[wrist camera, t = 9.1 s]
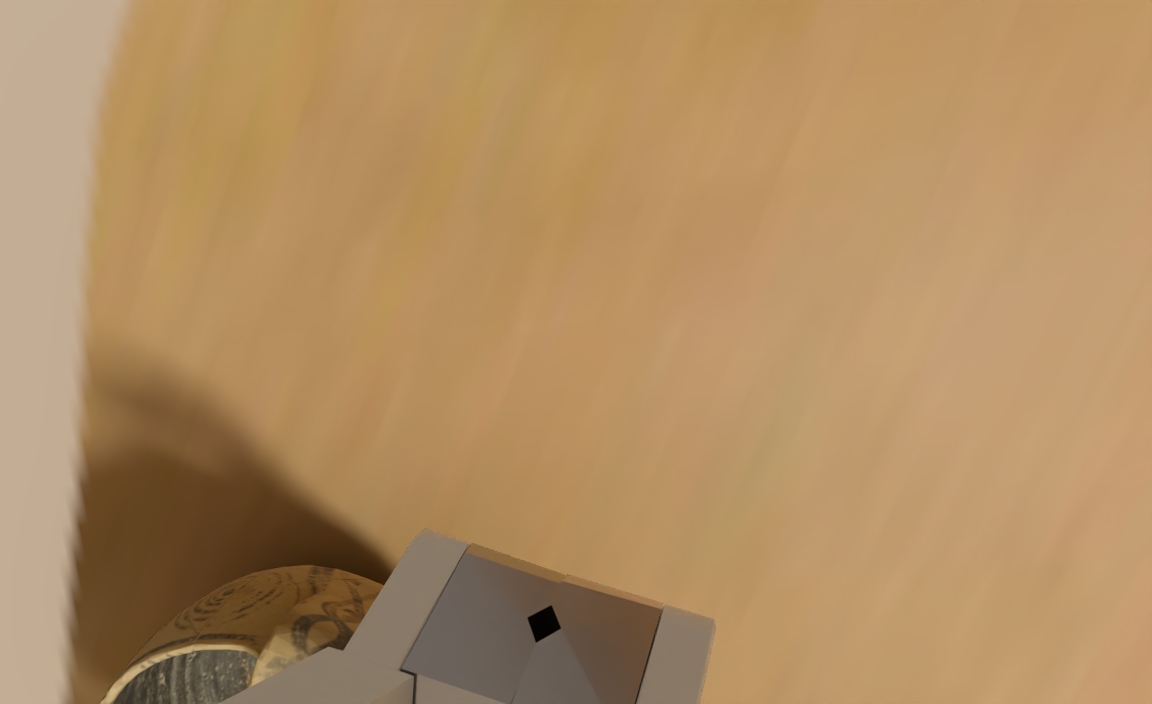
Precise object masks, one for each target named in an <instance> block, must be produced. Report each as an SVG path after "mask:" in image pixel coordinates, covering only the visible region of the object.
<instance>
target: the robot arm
mask: <svg viewBox="0 0 1152 704" xmlns="http://www.w3.org/2000/svg"><path fill="white" fill-rule="evenodd" d="M662 607H663V603H661V602H658V601H654V600H651V599H648V598H644V597H641V596H638V595H634V594H631V593H628V592H625V591H621V590H618V589H615V588H611V587H608V586H605V585H601V584H598V583H595V582H591V581H588V580H585V579H582V578H578V577H575V576H572V575H568V574H567V575H564V574H561V573H558V572H555V571H552V570H549V569H546V568H544V567H541V566H538V565H535V564H532V563H529V562H526V561H523V560H520V559H517V558H514V557H511V556H509V555H506V554H503V553H500V552H497V551H494V550H491V549H488V548H485V547H482V546H479V545H476V544H474V543H473V544H471V543H468V542H466V541H463V540H460V539H457V538H454V537H451V536H448V535H445V534H442V533H439V532H436V531H433V530H430V529H427V528H425V529H424V530H423V531H422V532H421V533H420V534H418V535H417V536H416V537H415V538H414V539H413V540H412V542H411V544H410V545H409V547H408V548H407V550H406V552H405V553H404V555H403V556H402V558H401V559H400V561H399V563H398V564H397V566H396V567H395V569H394V571H393V572H392V574H391V575H390V577H389V579H388V580H387V582H386V583H385V585H384V587H383V588H382V590H381V591H380V593H379V594H378V596H377V598H376V599H375V601H374V602H373V604H372V606H371V607H370V609H369V610H368V612H367V614H366V615H365V617H364V618H363V620H362V622H361V623H360V625H359V626H358V628H357V630H356V631H355V633H354V634H353V636H352V637H351V639H350V641H349V642H348V644H347V645H346V647H345V649H344V650H343V651H341V650H338V649H335V648H332V647H327V648H325V649H323V650H321V651H319V652H317V653H315V654H313V655H311V656H309V657H308V658H306V659H304V660H302V661H300V662H298V663H296V664H294V665H292V666H290V667H288V668H286V669H284V670H282V671H280V672H278V673H277V674H275V675H273V676H271V677H269V678H267V679H265V680H263V681H261V682H259V683H257V684H255V685H253V686H251V687H249V688H247V689H246V690H244V691H242V692H240V693H238V694H236V695H234V696H232V697H230V698H228V699H226V700H224V701H222V702H220V703H218V704H700V701H701V696H702V691H703V687H704V682H705V677H706V672H707V668H708V663H709V658H710V654H711V649H712V644H713V639H714V635H715V630H716V627H715V620H714V619H711V618H708V617H705V616H702V615H698V614H695V613H692V612H689V611H685V610H682V609H679V608H676V607H672V606H669V605H666V604H665V605H664V607H663V609H662ZM661 611H662V613H661ZM660 615H661V616H660ZM659 619H660V620H659ZM658 623H659V624H658ZM657 626H658V627H657ZM656 630H657V631H656ZM655 634H656V635H655ZM653 641H654V642H653Z"/></svg>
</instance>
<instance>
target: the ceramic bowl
mask: <svg viewBox="0 0 1152 704" xmlns="http://www.w3.org/2000/svg"><path fill="white" fill-rule="evenodd" d="M383 587H384V585H382V584H380V583H377V582H375V581H372V580H370V579H367V578H364V577H362V576H359V575H356V574H353V573H350V572H347V571H344V570H341V569H335V568H328V567H321V566H314V565H302V566H289V567H279V568H274V569H269V570H264V571H259V572H255V573H251V574H249V575H246V576H244V577H241V578H239V579H236V580H234V581H231V582H229V583H227V584H225V585H223V586H221V587H219V588H217V589H215V590H213V591H212V592H210V593H209V594H207V595H205V596H204V597H202V598H201V599H199V600H198V601H196V602H195V603H193V604H192V605H190V606H189V607H188V608H186V609H185V610H183V611H182V612H180V613H179V614H178V615H176V616H175V617H174V618H173V619H172V620H170V621H169V622H168V623H167V624H165V625H164V626H163V627H162V628H161V629H160V630H159V631H158V632H157V633H156V634H155V635H153V636H152V637H151V638H150V639H149V640H148V641H147V642H146V644H145V645H144V646H143V647H142V648H141V649H140V650H139V652H138V653H137V654H136V655H135V656H134V657H133V658H132V660H131V661H130V662H129V663H128V664H127V666H126V667H125V668H124V670H123V671H122V673H121V674H120V675H119V677H118V678H117V679H116V681H115V682H114V683H113V684H112V685H111V686H110V687H109V689H108V691H107V693H106V695H105V696H104V697H103V699H102V700H101V702H100V703H99V704H218V703H220V702H222V701H224V700H226V699H228V698H230V697H232V696H234V695H236V694H238V693H240V692H242V691H244V690H246V689H247V688H249V687H251V686H253V685H255V684H257V683H259V682H261V681H263V680H265V679H267V678H269V677H271V676H273V675H275V674H277V673H278V672H280V671H282V670H284V669H286V668H288V667H290V666H292V665H294V664H296V663H298V662H300V661H302V660H304V659H306V658H308V657H309V656H311V655H313V654H315V653H317V652H319V651H321V650H323V649H325V648H327V647H332V648H335V649H338V650H341V651H343V650H344V649H345V647H346V645H347V644H348V642H349V641H350V639H351V637H352V636H353V634H354V633H355V631H356V630H357V628H358V626H359V625H360V623H361V622H362V620H363V618H364V617H365V615H366V614H367V612H368V610H369V609H370V607H371V606H372V604H373V602H374V601H375V599H376V598H377V596H378V594H379V593H380V591H381V590H382V588H383Z"/></svg>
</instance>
